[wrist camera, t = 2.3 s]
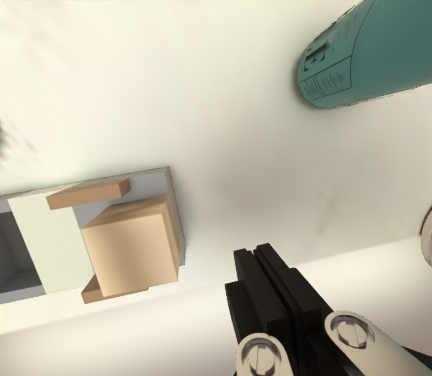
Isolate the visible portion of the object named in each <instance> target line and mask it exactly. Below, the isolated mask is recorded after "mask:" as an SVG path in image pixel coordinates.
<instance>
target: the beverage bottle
mask: <svg viewBox="0 0 432 376" xmlns="http://www.w3.org/2000/svg"><path fill="white" fill-rule="evenodd" d="M356 6H357V5H356ZM354 7H355V6H354ZM351 9H352V8H351ZM349 10H350V9H349ZM349 10H348V11H349ZM348 11H347V12H346V13H348ZM346 13H344V14H343V15H345V14H346ZM343 15H342V16H343ZM339 18H340V17H339ZM339 18H338V20H339ZM338 20H337V21H338ZM337 21H336V22H337ZM336 22H333V23H334V24H333V23H332V24H333V25H332V24H331V25H332V26H330V27H329V28H328V27H327V28H328V29H327V30H326V31H323V33H322V32H321V33H322V34H321V33H320V34H321V35H320V36H318V37H316V39H315V40H314V41H313V43H312V44H311V45H310V46H309V47H308V48H307V50H306V49H305V50H306V51H305V53H304V55H302V56H303V57H302V58H301V61H300V64H299V68H298V83H299V87H300V90H301V92H302V94H303V95H304V97H305V98H306V99H307V100H308V101H309V102H310V103H312V104H313V105H316V106H319V107H323V108H331V109H332V108H334V107H338V106H340V108H341V106H342V105H344V106H345V105H346V104H348V105H347V106H350V105H349V104H351V103H355V102H357V103H356V104H358V102H359V101H361V103H362V101H363V100H365V102H367V101H366V100H368V99H369V100H370V99H371V98H374V100H375V97H380V96H384V95H388V94H392V93H396V92H400V91H405V90H407V89H408V90H409V89H410V88H412V90H413V87H416V88H417V87H418V86H422V85H426V84H430V83H432V0H364V1H363V2H361V3H360V4H358V6H357V7H355V8H354V9H353V10H352V11H350V12H349V13H348V14H347V15H345V16H344V17H343V18H342V19H341V20H339V21H338V22H337V23H336ZM309 44H310V43H309ZM414 89H415V88H414ZM388 97H389V96H388ZM382 98H383V97H382ZM379 99H380V98H379ZM376 100H377V99H376ZM354 105H355V104H354ZM345 107H346V106H345ZM336 109H337V108H336Z"/></svg>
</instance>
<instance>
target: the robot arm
mask: <svg viewBox="0 0 432 376" xmlns="http://www.w3.org/2000/svg"><path fill="white" fill-rule="evenodd" d="M421 248H422V253H423V255H424V258H425V260H426V261H427V262H428V264H429V265H430V266H432V210H431V212H430V213H429V215H428V217H427V219H426V221H425V224H424V226H423V230H422V235H421ZM253 254H254V255H253ZM253 254H252V252H251V251H247V250H246V249H245V248H244V249H240V250H235V251H234V259H235V265H236V271H237V278H238V281H235V282H231V283H227V284H225V290H226V296H227V301H228V306H229V310H230V315H231V319H232V323H233V327H234V331H235V334H236V338H237V342H238V348H237V351H236V366H237V367H236V368H237V370H236V373H235V374H234V376H432V357H431V356H428V355H425V354H422V353H420V352H417V351H414V350H411V349H409V348H406V347H403V346H400V345H399V344H398V343H396V342H395V341H394V340H392V339H391V338H390V337H389V336H388V335H387V334H385V333H384V332H383V331H382V330H380V329H379V328H378V327H377V326H375V325H374V324H373V323H372V322H370V321H369V320H367V319H366V318H364V317H363V316H360V315H358V314H356V313H353V312H349V311H336V312H334V311H333V310H332V309H331V308H330V307H329V305H328V304H327V303H326V302H325V301H324V300H323V298H322V297H321V296H320V295H319V294H318V293H317V292H316V290H315V289H314V288H313V287H312V286H311V285H310V284H309V282H308V281H307V280H306V279H305V278H304V277H303V276H302V274H301V273H300V272H299V271H298V270H297V269H296V268H294V267H293V268H289V267H288V266H287V265H286V264H285V262H284V261H283V260H282V259H281V257H280V256H279V255H278V254H277V253H276V251H275V250H274V249H273V248H272V246H271V245H270V244H269V243H266V244H262V245H257V249H254V250H253Z"/></svg>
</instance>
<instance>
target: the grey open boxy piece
mask: <svg viewBox="0 0 432 376" xmlns="http://www.w3.org/2000/svg"><path fill="white" fill-rule="evenodd" d="M168 194H169V196H170V200H171V205H172V209H173V214H174V218H175V223H176V227H177V232H178V236H179V241H180V245H181V247H180V259H179V266H182V265H185V253H186V246H185V241H184V236H183V232H182V227H181V223H180V218H179V213H178V209H177V204H176V199H175V195H174V190H173V186H172V181H171V176H170V172H169V167H163V168H157V169H152V170H146V171H140V172H135V173H129V174H123V175H117V176H112V177H106V178H100V179H95V180H89V181H83V182H77V183H72V184H66V185H60V186H55V187H49V188H43V189H37V190H32V191H26V192H20V193H15V194H9V195H3V196H0V304H4V303H9V302H13V301H18V300H23V299H28V298H32V297H37V296H42V295H46V294H51V293H56V292H60V291H65V290H70V289H74V288H79V287H84V286H86V287H85V289H84V290H83V291H82V293H81V295H82V298H83V300H84V303H85V304H87V303H92V302H96V301H101V300H105V299H110V298H115V297H119V296H124V295H128V294H133V293H137V292H142V291H146V290H148V288H149V287H148V288H143V289H138V290H134V291H129V292H125V293H120V294H116V295H111V296H106V297H103V294H102V291H101V288H100V285H99V282H98V279H97V276H96V273H95V271H94V268H93V265H92V262H91V259H90V256H89V253H88V250H87V247H86V244H85V241H84V238H83V235H82V232H81V228H83V227H84V226H85V225H86V224H88V223H89V222H90V221H91V220H92V219H94V218H95V217H96V216H97V215H99V214H100V213H101V212H102V211H104V210H105V209H106V208H107V207H108V206H110V205H114V204H119V203H124V202H130V201H135V200H141V199H146V198H151V197H157V196H162V195H168Z"/></svg>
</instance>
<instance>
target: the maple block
mask: <svg viewBox="0 0 432 376" xmlns="http://www.w3.org/2000/svg"><path fill="white" fill-rule="evenodd" d="M81 232H82V235H83V238H84V241H85V244H86V247H87V250H88V253H89V256H90V259H91V262H92V265H93V268H94V271H95V273H96V276H97V279H98V282H99V285H100V288H101V291H102V294H103V297H106V296H111V295H116V294H120V293H125V292H129V291H134V290H138V289H143V288H148V287H152V286H157V285H161V284H166V283H171V282H175V281H178V270H179V259H180V247H181V245H180V241H179V236H178V232H177V227H176V223H175V218H174V214H173V209H172V205H171V200H170V196H169V194H168V195H162V196H157V197H151V198H146V199H141V200H135V201H130V202H124V203H119V204H114V205H110V206H108V207H107V208H106V209H105V210H104V211H102V212H101V213H100V214H99V215H97V216H96V217H95V218H94V219H92V220H91V221H90V222H89V223H88V224H86V225H85V226H84V227H83V228H81Z"/></svg>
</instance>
